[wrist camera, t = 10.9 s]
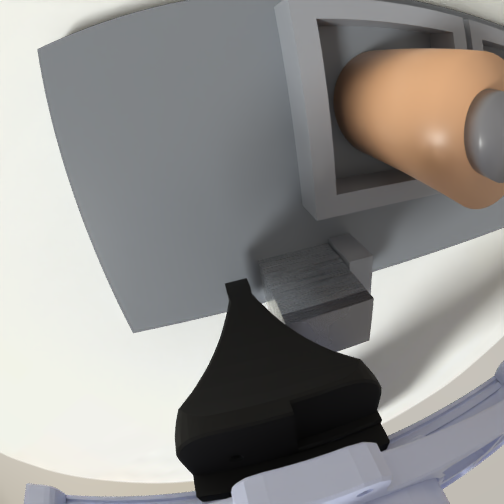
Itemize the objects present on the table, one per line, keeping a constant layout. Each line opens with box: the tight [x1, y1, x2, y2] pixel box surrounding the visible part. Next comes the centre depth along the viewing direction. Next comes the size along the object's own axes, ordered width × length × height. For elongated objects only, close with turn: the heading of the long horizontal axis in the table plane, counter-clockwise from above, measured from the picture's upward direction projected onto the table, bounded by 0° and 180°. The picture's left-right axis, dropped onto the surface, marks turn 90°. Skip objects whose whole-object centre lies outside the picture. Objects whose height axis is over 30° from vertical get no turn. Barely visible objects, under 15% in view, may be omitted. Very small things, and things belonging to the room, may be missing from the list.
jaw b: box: [333, 48, 504, 209], centre depth 8 cm, size 4×4×6 cm
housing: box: [38, 0, 504, 333], centre depth 11 cm, size 12×24×3 cm, turn 99°
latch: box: [258, 243, 374, 352], centre depth 12 cm, size 2×3×4 cm, turn 99°
